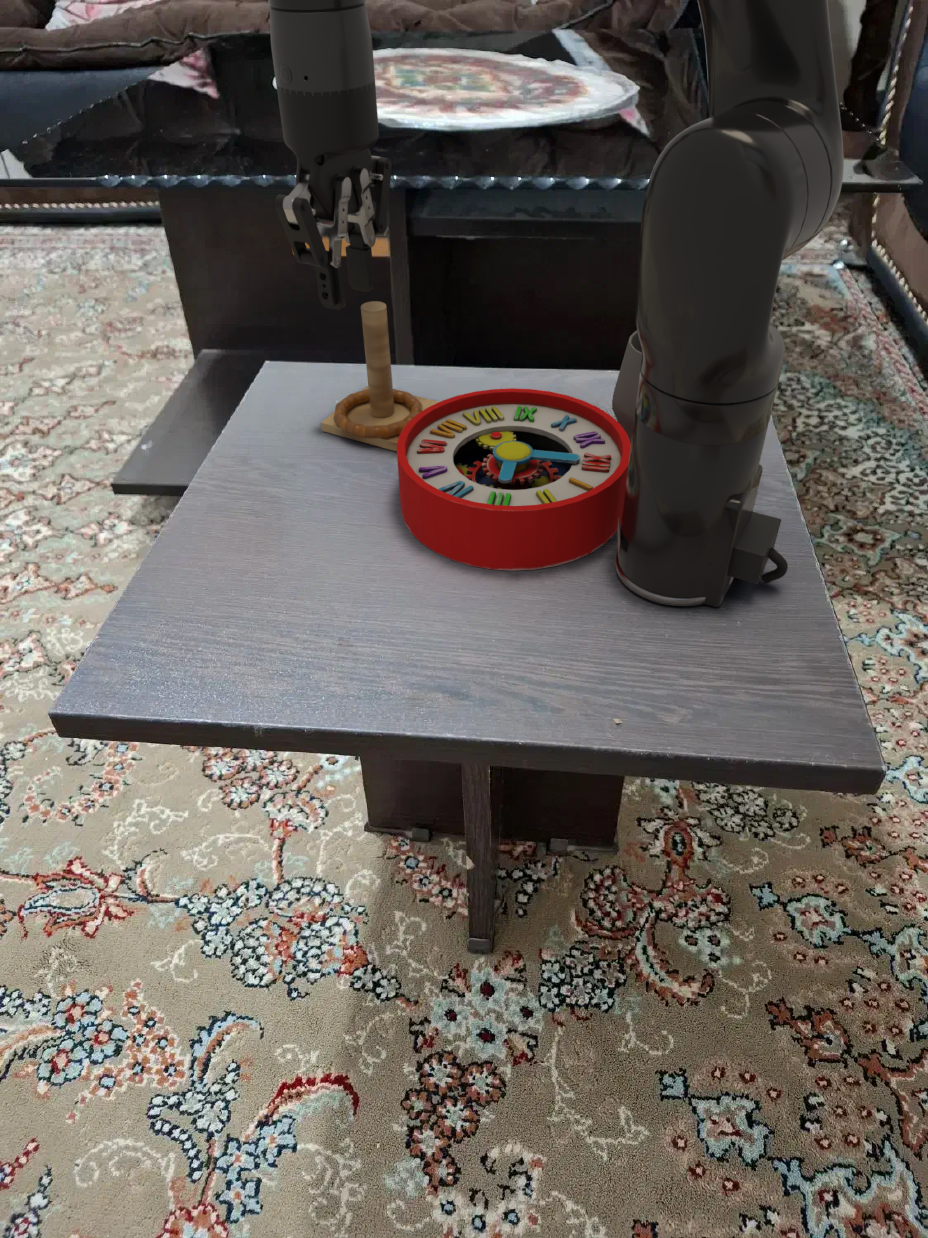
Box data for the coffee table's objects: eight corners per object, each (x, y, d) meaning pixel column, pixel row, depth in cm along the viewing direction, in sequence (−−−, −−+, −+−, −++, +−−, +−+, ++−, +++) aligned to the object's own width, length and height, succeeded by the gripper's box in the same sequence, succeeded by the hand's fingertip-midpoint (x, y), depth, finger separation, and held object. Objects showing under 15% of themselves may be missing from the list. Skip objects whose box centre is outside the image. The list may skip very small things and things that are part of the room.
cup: (697, 415, 91) (713, 320, 84) (714, 464, 84) (733, 365, 78) (603, 415, 91) (612, 320, 85) (613, 464, 84) (624, 365, 78)
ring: (438, 408, 91) (438, 397, 90) (391, 448, 85) (391, 437, 85) (367, 389, 94) (366, 379, 94) (317, 427, 89) (315, 416, 88)
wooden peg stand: (443, 411, 93) (439, 296, 85) (398, 452, 87) (389, 333, 79) (370, 392, 96) (359, 281, 88) (321, 431, 90) (305, 315, 82)
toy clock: (426, 380, 85) (638, 397, 82) (429, 434, 89) (631, 452, 86) (368, 497, 71) (623, 523, 67) (374, 556, 75) (615, 583, 71)
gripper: (311, 100, 62) (338, 337, 73) (415, 61, 71) (425, 277, 83) (226, 90, 65) (265, 320, 76) (337, 54, 74) (357, 264, 85)
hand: (348, 297), depth 79 cm, fingers open, 4 cm apart
